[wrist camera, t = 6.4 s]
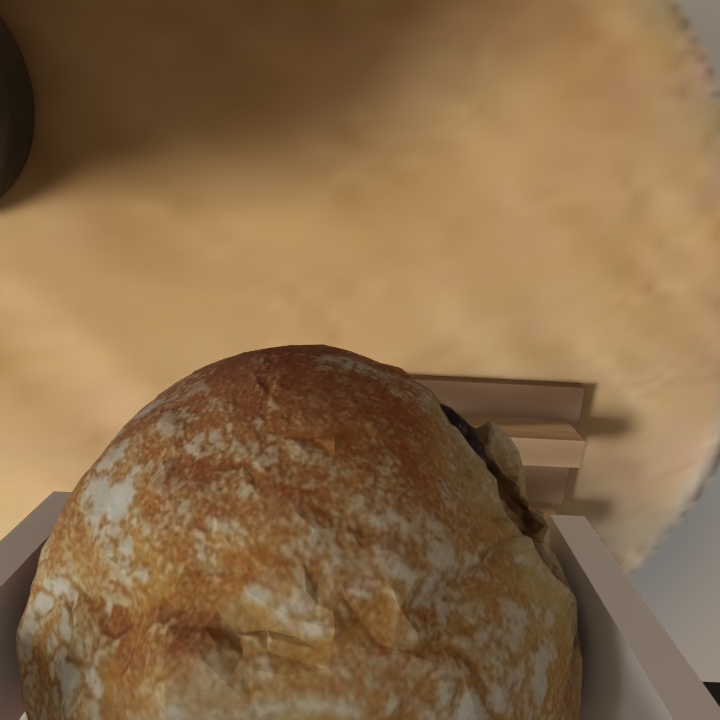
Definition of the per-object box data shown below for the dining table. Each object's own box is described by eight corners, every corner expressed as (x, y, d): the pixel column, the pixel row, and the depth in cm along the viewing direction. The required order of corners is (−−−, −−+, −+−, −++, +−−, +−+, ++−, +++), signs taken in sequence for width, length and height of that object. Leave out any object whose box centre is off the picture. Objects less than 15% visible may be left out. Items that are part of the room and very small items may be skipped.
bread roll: (522, 495, 15) (835, 612, 7) (323, 827, 13) (467, 1463, 5) (254, 288, 13) (299, 157, 6) (-25, 639, 11) (-564, 1199, 4)
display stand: (389, 373, 37) (392, 396, 32) (579, 383, 37) (608, 406, 32) (377, 536, 41) (379, 575, 36) (548, 544, 41) (570, 584, 37)
